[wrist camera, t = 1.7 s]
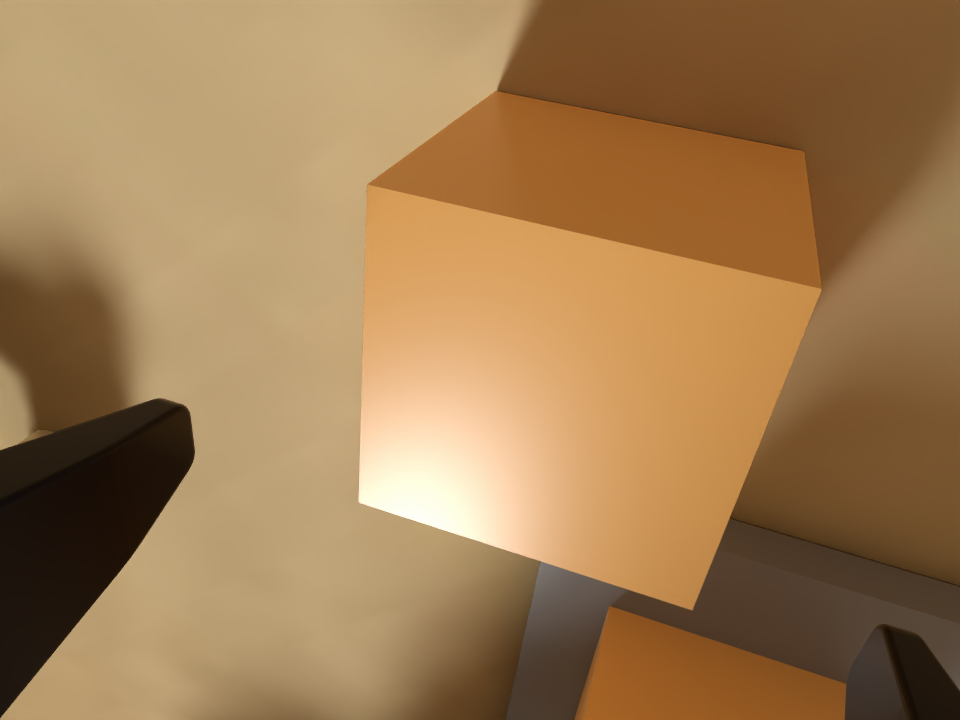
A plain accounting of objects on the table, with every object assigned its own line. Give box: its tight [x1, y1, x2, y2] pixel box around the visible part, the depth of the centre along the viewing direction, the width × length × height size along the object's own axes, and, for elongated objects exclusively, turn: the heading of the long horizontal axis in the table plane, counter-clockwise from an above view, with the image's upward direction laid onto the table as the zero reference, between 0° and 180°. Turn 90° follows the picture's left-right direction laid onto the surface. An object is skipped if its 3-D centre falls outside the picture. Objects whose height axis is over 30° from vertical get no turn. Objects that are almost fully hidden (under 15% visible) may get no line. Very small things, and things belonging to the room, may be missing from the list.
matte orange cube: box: [359, 91, 822, 610], centre depth 14 cm, size 6×6×6 cm
